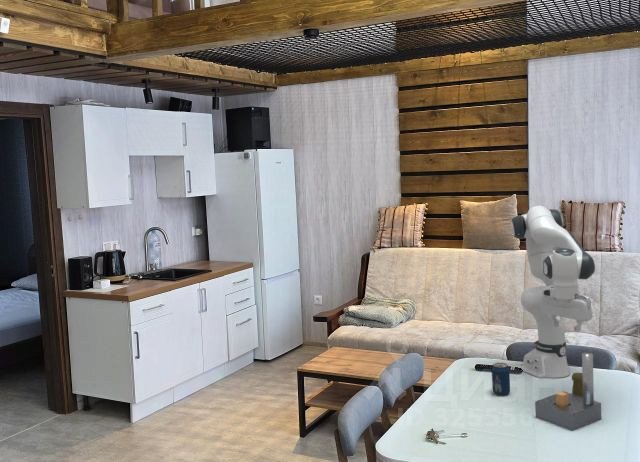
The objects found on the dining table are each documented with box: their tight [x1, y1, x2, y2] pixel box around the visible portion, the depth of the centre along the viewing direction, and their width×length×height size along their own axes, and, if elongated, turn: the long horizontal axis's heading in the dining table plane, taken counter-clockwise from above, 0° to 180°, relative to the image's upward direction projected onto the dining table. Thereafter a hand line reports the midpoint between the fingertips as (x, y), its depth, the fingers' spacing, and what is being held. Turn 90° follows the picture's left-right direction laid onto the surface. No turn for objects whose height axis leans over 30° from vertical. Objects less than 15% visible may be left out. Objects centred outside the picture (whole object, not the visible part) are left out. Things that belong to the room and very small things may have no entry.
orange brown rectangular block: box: [555, 391, 569, 408], centre depth 235 cm, size 3×3×10 cm
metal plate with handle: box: [534, 352, 602, 432], centre depth 236 cm, size 16×16×24 cm
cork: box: [571, 372, 583, 397], centre depth 252 cm, size 6×6×11 cm
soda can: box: [491, 362, 511, 397], centre depth 265 cm, size 7×7×12 cm
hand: (566, 328), depth 243 cm, fingers open, 8 cm apart
